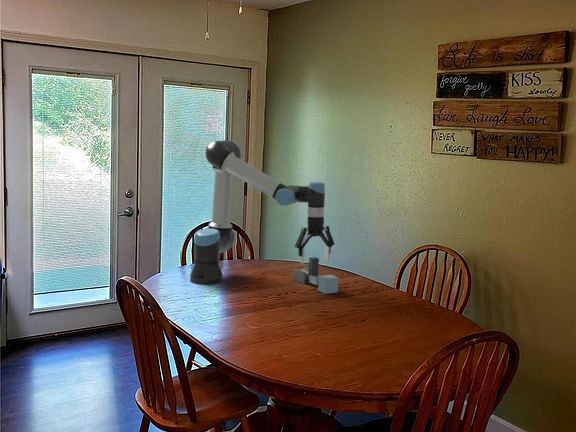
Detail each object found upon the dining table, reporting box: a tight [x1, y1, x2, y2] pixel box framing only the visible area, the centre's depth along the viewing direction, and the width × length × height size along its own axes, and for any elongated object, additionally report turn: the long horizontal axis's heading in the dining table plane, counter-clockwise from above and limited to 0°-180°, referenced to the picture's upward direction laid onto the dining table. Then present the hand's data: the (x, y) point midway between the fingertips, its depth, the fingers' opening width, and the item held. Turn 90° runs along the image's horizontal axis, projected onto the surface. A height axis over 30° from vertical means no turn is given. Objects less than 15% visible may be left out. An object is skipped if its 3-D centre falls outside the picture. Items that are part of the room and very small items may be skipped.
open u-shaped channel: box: [293, 266, 311, 285], centre depth 280 cm, size 9×7×5 cm
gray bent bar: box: [300, 256, 320, 286], centre depth 276 cm, size 16×3×11 cm, turn 30°
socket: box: [317, 274, 339, 295], centre depth 263 cm, size 6×7×7 cm
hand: (314, 261), depth 273 cm, fingers open, 13 cm apart
